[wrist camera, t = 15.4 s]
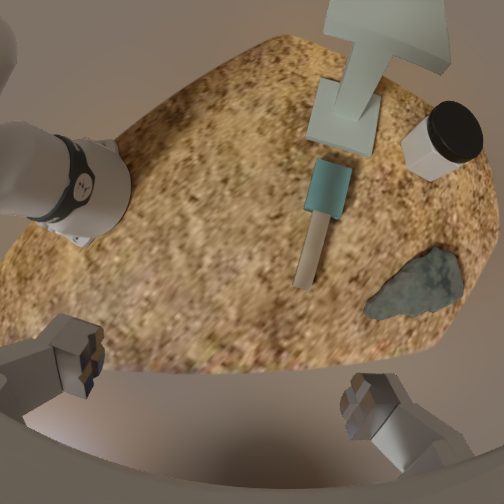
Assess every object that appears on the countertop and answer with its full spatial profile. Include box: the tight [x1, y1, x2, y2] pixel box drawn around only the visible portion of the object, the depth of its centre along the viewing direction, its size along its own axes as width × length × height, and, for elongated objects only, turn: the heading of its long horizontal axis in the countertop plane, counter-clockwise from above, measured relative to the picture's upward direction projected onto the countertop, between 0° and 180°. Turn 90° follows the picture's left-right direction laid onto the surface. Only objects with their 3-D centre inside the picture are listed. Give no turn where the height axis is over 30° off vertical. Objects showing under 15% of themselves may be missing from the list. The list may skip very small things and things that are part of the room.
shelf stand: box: [305, 0, 451, 158], centre depth 28 cm, size 10×11×26 cm
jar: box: [401, 101, 483, 182], centre depth 34 cm, size 9×8×12 cm
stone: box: [363, 246, 464, 320], centre depth 40 cm, size 17×3×10 cm
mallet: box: [292, 158, 352, 291], centre depth 40 cm, size 5×18×3 cm, turn 164°
